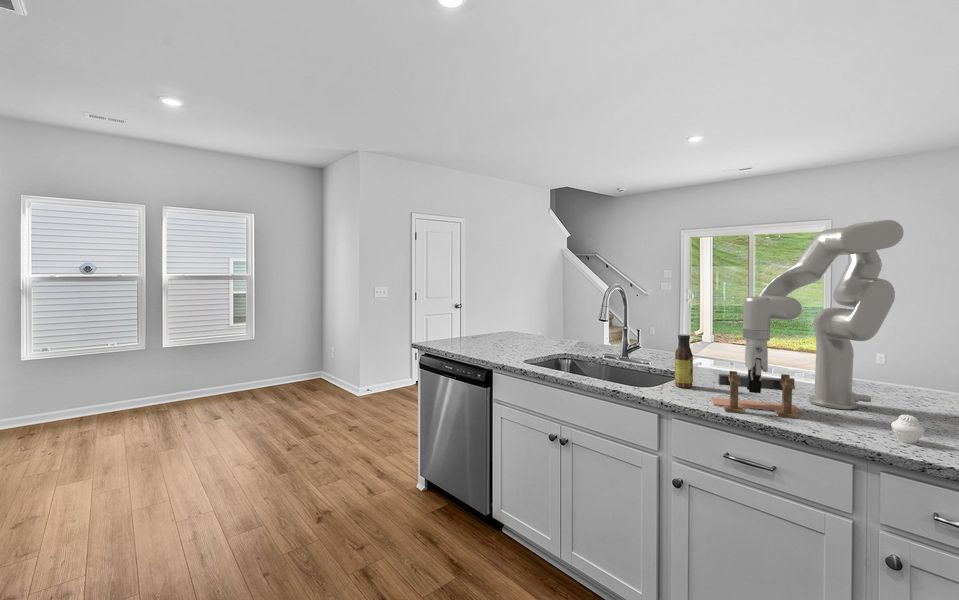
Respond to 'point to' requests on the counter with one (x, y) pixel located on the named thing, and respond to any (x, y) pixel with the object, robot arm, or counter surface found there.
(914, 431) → the muffin
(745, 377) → the rail
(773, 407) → the mat
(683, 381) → the sauce bottle
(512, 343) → the counter surface
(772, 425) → the counter surface
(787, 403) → the hook stands
